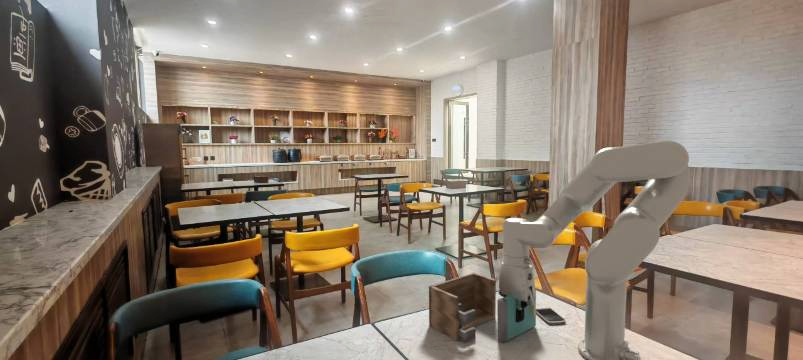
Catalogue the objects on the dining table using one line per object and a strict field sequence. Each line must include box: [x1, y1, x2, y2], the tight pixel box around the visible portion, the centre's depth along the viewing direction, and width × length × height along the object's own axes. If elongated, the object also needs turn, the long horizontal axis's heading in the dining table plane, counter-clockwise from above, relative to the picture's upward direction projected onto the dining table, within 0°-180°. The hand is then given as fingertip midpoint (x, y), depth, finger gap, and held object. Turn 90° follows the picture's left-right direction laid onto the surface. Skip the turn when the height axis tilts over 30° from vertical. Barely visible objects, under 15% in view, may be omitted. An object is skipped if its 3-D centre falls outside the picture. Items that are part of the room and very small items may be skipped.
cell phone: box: [536, 307, 567, 326], centre depth 128 cm, size 6×11×1 cm, turn 8°
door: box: [496, 288, 537, 343], centre depth 116 cm, size 3×16×12 cm, turn 127°
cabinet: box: [428, 272, 497, 343], centre depth 123 cm, size 14×21×13 cm
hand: (516, 319), depth 116 cm, fingers closed on door, 2 cm apart
